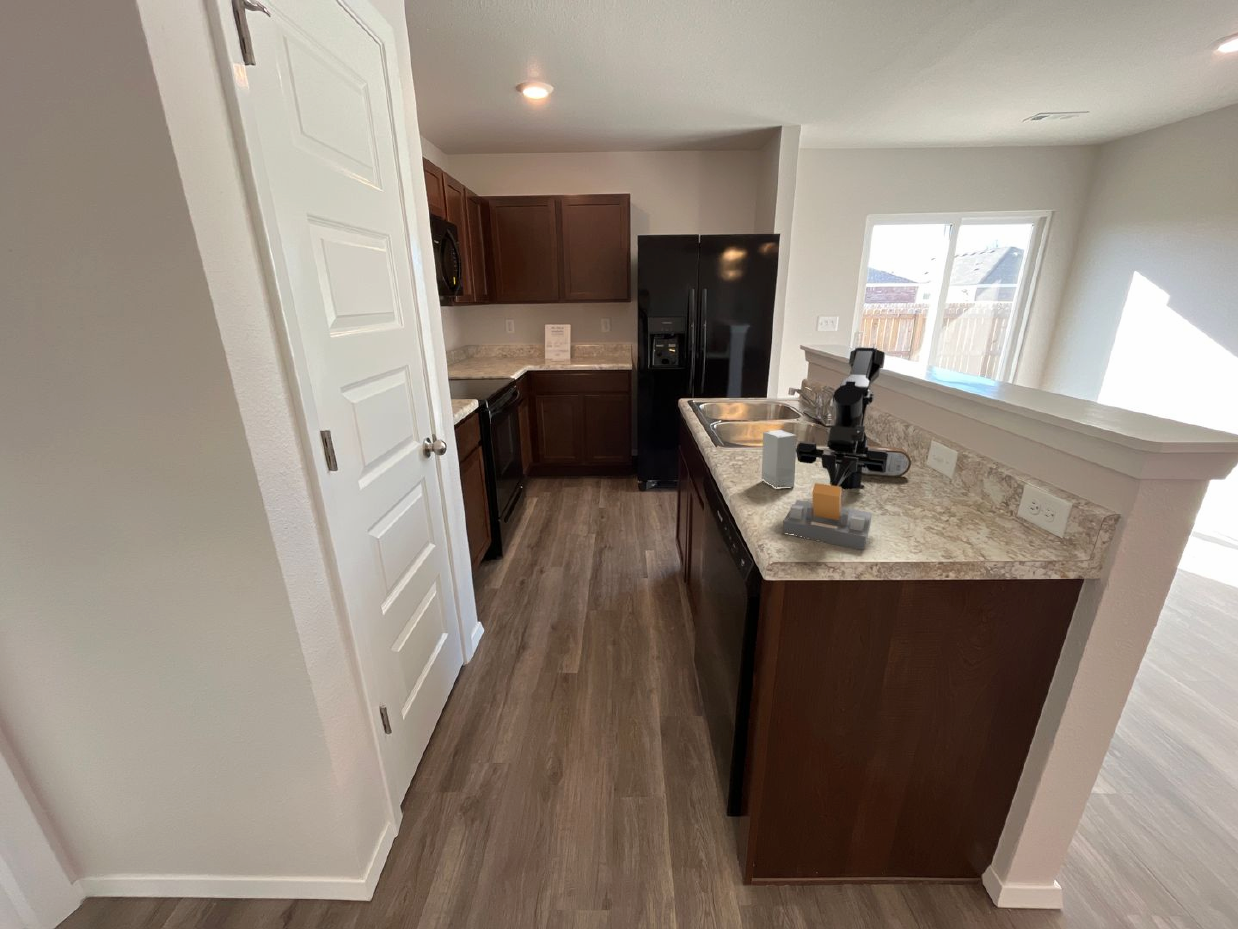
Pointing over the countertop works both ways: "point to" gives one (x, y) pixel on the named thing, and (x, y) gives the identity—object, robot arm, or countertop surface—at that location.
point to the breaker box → (828, 525)
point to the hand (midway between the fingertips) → (833, 489)
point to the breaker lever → (827, 501)
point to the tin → (892, 462)
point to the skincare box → (779, 458)
